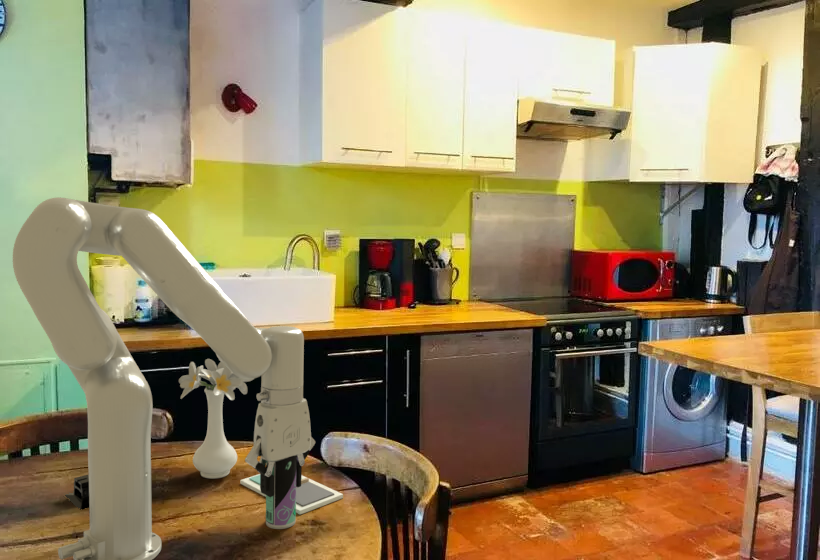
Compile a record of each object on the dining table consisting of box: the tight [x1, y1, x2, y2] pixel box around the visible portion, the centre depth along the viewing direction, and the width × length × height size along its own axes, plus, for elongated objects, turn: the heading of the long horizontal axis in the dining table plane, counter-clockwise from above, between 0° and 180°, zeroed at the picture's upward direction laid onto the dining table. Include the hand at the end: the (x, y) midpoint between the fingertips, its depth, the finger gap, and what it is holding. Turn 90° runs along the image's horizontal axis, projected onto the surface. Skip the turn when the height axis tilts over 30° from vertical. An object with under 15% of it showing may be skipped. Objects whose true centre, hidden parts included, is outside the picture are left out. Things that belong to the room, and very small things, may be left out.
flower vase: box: [178, 358, 254, 480], centre depth 149 cm, size 13×18×25 cm
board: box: [240, 473, 344, 515], centre depth 142 cm, size 11×20×2 cm, turn 47°
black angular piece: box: [65, 473, 89, 511], centre depth 136 cm, size 12×7×5 cm, turn 46°
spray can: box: [265, 439, 297, 530], centre depth 127 cm, size 6×6×20 cm
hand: (281, 488), depth 128 cm, fingers closed on spray can, 5 cm apart
